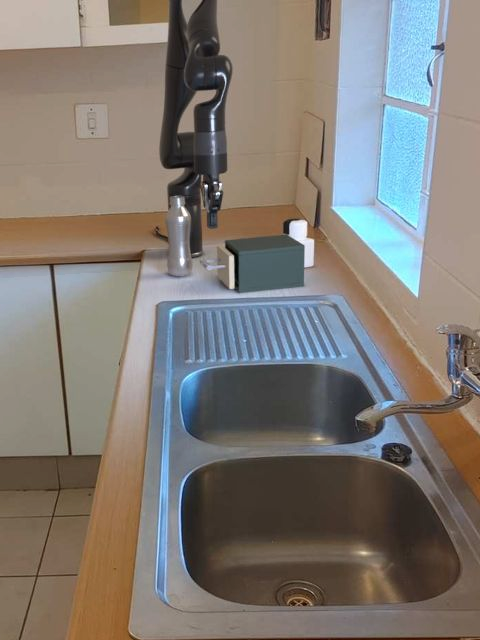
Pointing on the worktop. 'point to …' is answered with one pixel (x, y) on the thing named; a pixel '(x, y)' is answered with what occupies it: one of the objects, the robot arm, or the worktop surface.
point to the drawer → (224, 265)
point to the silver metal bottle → (178, 237)
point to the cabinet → (268, 262)
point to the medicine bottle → (300, 238)
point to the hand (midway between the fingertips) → (212, 227)
